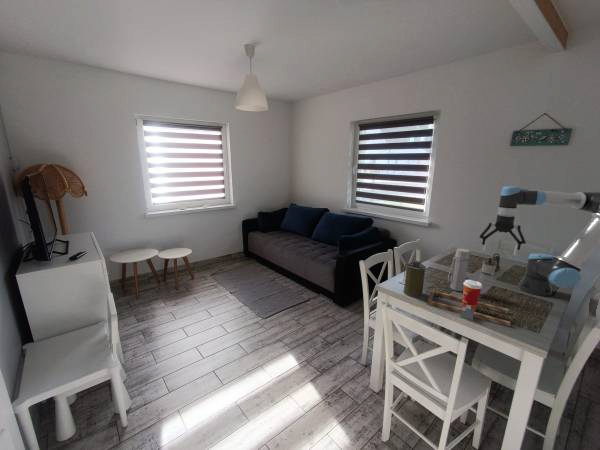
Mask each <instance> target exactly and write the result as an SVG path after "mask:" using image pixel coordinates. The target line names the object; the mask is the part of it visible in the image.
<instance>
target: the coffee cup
mask: <svg viewBox="0 0 600 450" xmlns="http://www.w3.org/2000/svg"><path fill="white" fill-rule="evenodd" d="M463 284H464V290H463V291H462V293H463V294H462V298H463V302H461V305H462V306H461V308H462V307H466V305H470V306H471V309H474V312H476V309H477V307H478V306H477V303H478V302H479V298H480V294H481V290H482V289H483V285H482V283H481V282H480V281H478V280H477V281H476V280H472V279H465V282H464V283H463Z"/></svg>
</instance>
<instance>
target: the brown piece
mask: <svg viewBox="0 0 600 450" xmlns="http://www.w3.org/2000/svg"><path fill="white" fill-rule="evenodd" d="M435 296H436V297H437V296H438V297H440V298H444V299H448V300H452V301H454V302H455V301H456V302H460V303H462V302H463V297H461V296H456V295H453V294H449V293H445V292H440V291H438V290H435V289H432V290H431V292H430V294H429V296H428V298H427V304H426V305H430V306H433V307H436V308H440V309H443V310H446V311H447V310H448V311H451V312H454V313H458V314H461V313H462V307H458V306H457V307H456V306H453V305H449V304H446V303H442V302H438V301H435V300H433V299H434V297H435ZM477 307H479V308H483V309H487V310H491V311H494V312H498V313H502V314H507V315H508V314H509V309H508V308H504V307H500V306H497V305H494V304H489V303H484V302H481V301H478V303H477ZM473 318H475V319H480V320H483V321H487V322H490V323H494V324H498V325H501V326H506V327H508V328H509V327H510V326H511V321H509V320H505V319H501V318H499V317H498V318H497V317H494V316H490V315H487V314H483V313H479V312H476V311H475V312H474V316H473Z"/></svg>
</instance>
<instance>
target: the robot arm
mask: <svg viewBox="0 0 600 450" xmlns="http://www.w3.org/2000/svg"><path fill="white" fill-rule="evenodd" d="M518 205H525V206H526V205H527V206H542V205H545V206H546V205H547V206H557V207H567V208H572V209H573V210H579V211H585V212H589V213H591V216H592V218H591V219H590V220H589V221H588V223H587V224H586V225H585V226H584V227H583V229H582V230H581V231H580V232H579V233H578V234H577V236H575V238H574V240H572V241H571V243H570V244H569V246H567V248H565V250H564V251H563V252H562V253H561V255H556V256H555V255H551V254H547V253H541V252H540V253H538V252H535V253H530V254H528V255H529V256H528V259H527V264H526V268H525V273H524V276H523V278H521V280H520V282H519V283H518V288H519V289H520V290H521V291H523V292H526V293H527V294H532V295H536V296H542V297H550V296H552V293H553V288H552V287H553V286H552V285H554V286H556V287H559V288H563V289H565V288H572V287H574V286H576V285H577V284H578V283H580V281H581V276H582V274H581V273H580V272H581V271H582V269H583V268H582V266H581V265H582V264H583V263H584V262H585V261H586V259H587V258H588V257H589V256H590V255H591V254H592V252H593V251H595V249H596V248H597V246H599V245H600V191H599V192H597V191H593V192H591V191H590V192H584V191H578V192H564V191H550V190H539V189H526V188H525V189H524V188H521V187H520V186H517V185H516V186H515V185H510V186H509V185H505V186H503V187H502V189H501V192H500V198H499V203H498V209H497V216H496V220H495V222H491V221H489V222H488V224H487V226H486V227H485V229H483V231H482V232H481V234H480V235H479V238H480V239H482V243H481V244H482V246H483V245H484V246H483V252H486V249H487V248H486V247H487V242H488V238H491V236H492V235H494V234H495V233H498V232H499V233H505V234H508V233H509V234H510V235H511V236H512V238H513V239H514V240H515V241H516V242H515V246H514V251H513V256H514V257H516V256H517V253H518V251H520V250H521V245H523V244H526V243H527V242H526V240H525V237H524V235H523V233H522V229H521V227H522V226H521V225H519V224H518V225H515V218H516V217H515V216H516V212H517V206H518ZM493 226H494V229H493V230H491V231H490V232H489V233H487V232H488V231H489V230H490V229H491V228H493ZM513 229H515V230H517V232H518V235H519V237H520V239H519V237H517V236H516V234H515V233H514V232H513Z"/></svg>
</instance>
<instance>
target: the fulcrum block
mask: <svg viewBox="0 0 600 450" xmlns="http://www.w3.org/2000/svg"><path fill="white" fill-rule="evenodd" d="M461 309H462V313H460V318H463V319H465V320H469V321H473V320H474V317H473V316H474V309H471V306H470V305H466V307H462V306H461Z"/></svg>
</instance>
